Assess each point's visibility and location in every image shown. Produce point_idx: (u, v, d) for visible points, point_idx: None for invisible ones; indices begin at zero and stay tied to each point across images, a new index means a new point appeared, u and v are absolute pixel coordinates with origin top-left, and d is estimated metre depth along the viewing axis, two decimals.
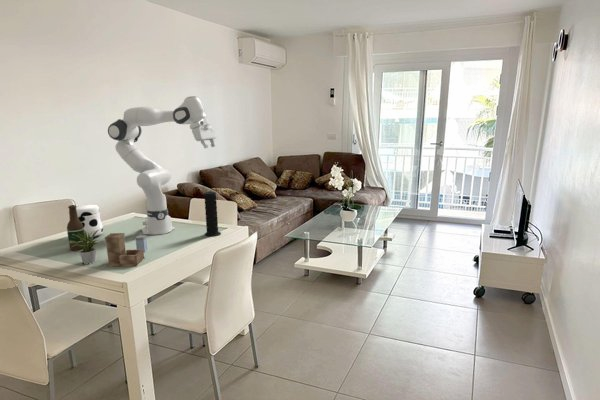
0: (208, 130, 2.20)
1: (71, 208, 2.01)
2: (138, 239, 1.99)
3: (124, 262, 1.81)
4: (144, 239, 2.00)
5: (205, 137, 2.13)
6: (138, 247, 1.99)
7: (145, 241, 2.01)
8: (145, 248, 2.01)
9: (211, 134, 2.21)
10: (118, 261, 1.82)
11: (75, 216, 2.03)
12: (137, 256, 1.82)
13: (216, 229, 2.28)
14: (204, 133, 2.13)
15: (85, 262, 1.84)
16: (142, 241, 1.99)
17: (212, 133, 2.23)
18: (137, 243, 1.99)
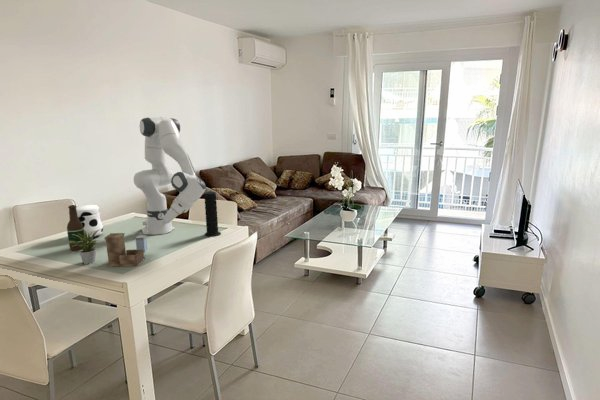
0: None
1: (71, 208, 2.01)
2: (138, 239, 1.98)
3: (124, 262, 1.81)
4: (144, 239, 2.00)
5: None
6: (138, 247, 1.99)
7: (145, 241, 2.01)
8: (145, 248, 2.01)
9: None
10: (118, 261, 1.82)
11: (75, 216, 2.03)
12: (137, 256, 1.82)
13: (216, 229, 2.28)
14: None
15: (85, 262, 1.84)
16: (142, 241, 1.99)
17: None
18: (137, 243, 1.99)
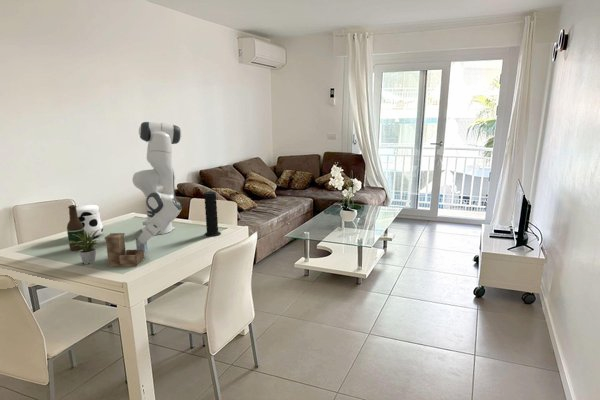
0: None
1: (71, 208, 2.01)
2: None
3: (124, 262, 1.81)
4: None
5: None
6: (138, 247, 1.99)
7: None
8: (145, 248, 2.01)
9: None
10: (118, 261, 1.82)
11: (75, 216, 2.03)
12: (137, 256, 1.82)
13: (216, 229, 2.28)
14: None
15: (85, 262, 1.84)
16: None
17: None
18: None
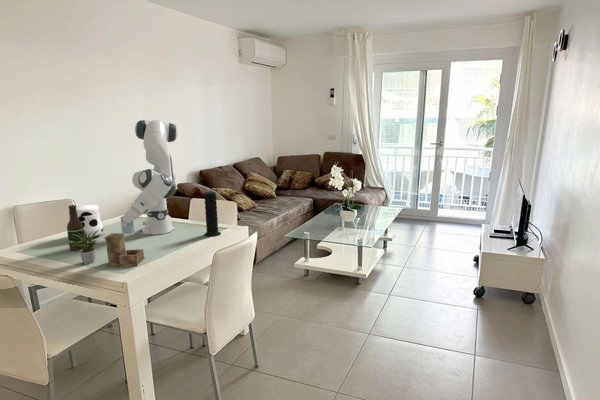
0: None
1: (71, 208, 2.01)
2: None
3: (124, 262, 1.81)
4: None
5: None
6: (124, 228, 1.80)
7: None
8: (131, 229, 1.82)
9: (141, 213, 1.85)
10: (118, 261, 1.82)
11: (75, 216, 2.03)
12: (137, 256, 1.82)
13: (216, 229, 2.28)
14: None
15: (85, 262, 1.84)
16: None
17: None
18: (122, 223, 1.80)
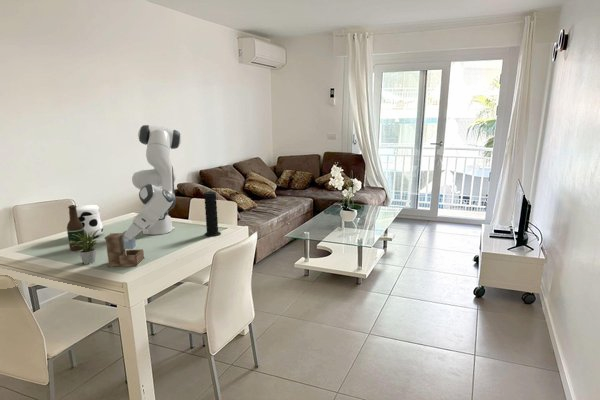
0: None
1: (71, 208, 2.01)
2: None
3: (124, 262, 1.81)
4: None
5: None
6: (125, 243, 1.82)
7: (133, 237, 1.83)
8: (133, 244, 1.83)
9: None
10: (118, 261, 1.82)
11: (75, 216, 2.03)
12: (137, 256, 1.82)
13: (216, 229, 2.28)
14: None
15: (85, 262, 1.84)
16: None
17: None
18: None
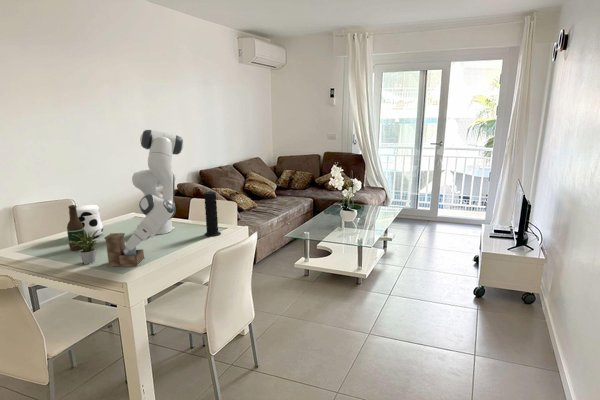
0: None
1: (71, 208, 2.01)
2: None
3: (124, 262, 1.81)
4: None
5: None
6: None
7: (134, 250, 1.85)
8: None
9: None
10: (118, 261, 1.82)
11: (75, 216, 2.03)
12: (137, 256, 1.82)
13: (216, 229, 2.28)
14: None
15: (85, 262, 1.84)
16: (131, 250, 1.82)
17: None
18: None
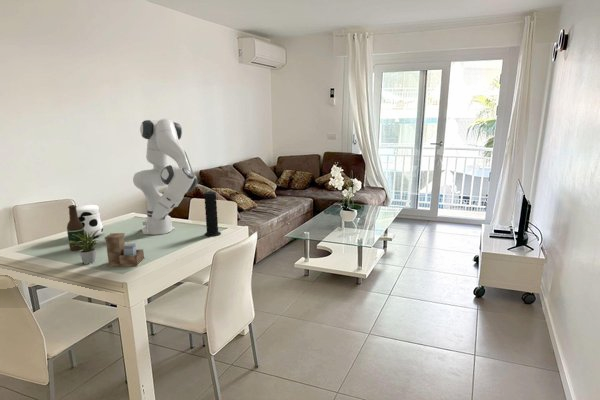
0: None
1: (71, 208, 2.01)
2: (126, 247, 1.82)
3: (124, 262, 1.81)
4: (133, 247, 1.84)
5: (162, 216, 1.81)
6: None
7: (134, 250, 1.85)
8: None
9: (169, 210, 1.89)
10: (118, 261, 1.82)
11: (75, 216, 2.03)
12: (137, 256, 1.82)
13: (216, 229, 2.28)
14: (165, 212, 1.81)
15: (85, 262, 1.84)
16: (131, 250, 1.82)
17: (171, 208, 1.91)
18: (125, 252, 1.82)
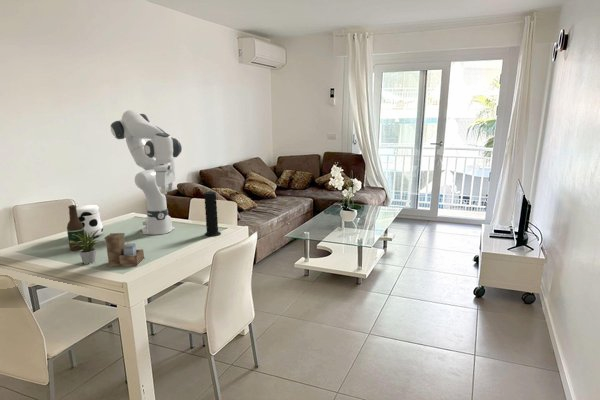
0: (170, 173, 1.97)
1: (71, 208, 2.01)
2: (126, 247, 1.82)
3: (124, 262, 1.81)
4: (133, 247, 1.84)
5: (167, 183, 1.91)
6: None
7: (134, 250, 1.85)
8: None
9: (172, 177, 1.99)
10: (118, 261, 1.82)
11: (75, 216, 2.03)
12: (137, 256, 1.82)
13: (216, 229, 2.28)
14: (167, 178, 1.91)
15: (85, 262, 1.84)
16: (131, 250, 1.82)
17: (173, 176, 2.01)
18: (125, 252, 1.82)
